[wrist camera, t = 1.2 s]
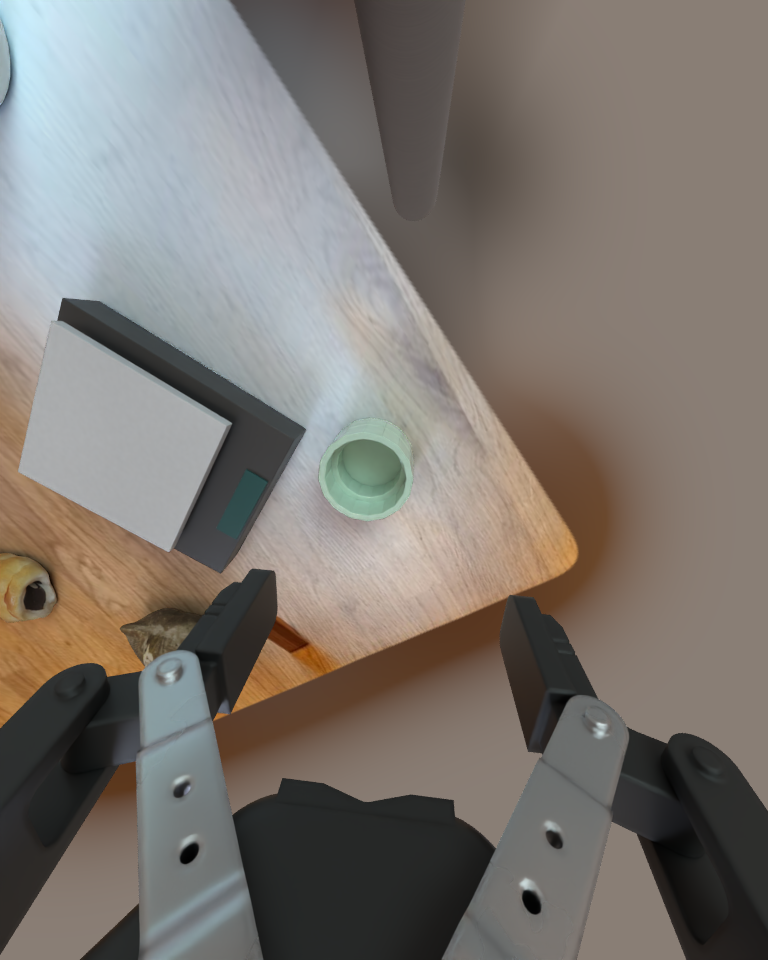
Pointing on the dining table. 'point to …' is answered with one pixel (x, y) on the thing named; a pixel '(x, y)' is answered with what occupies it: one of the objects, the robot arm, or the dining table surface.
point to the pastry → (24, 589)
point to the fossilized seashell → (159, 633)
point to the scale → (151, 436)
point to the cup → (367, 470)
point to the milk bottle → (4, 64)
